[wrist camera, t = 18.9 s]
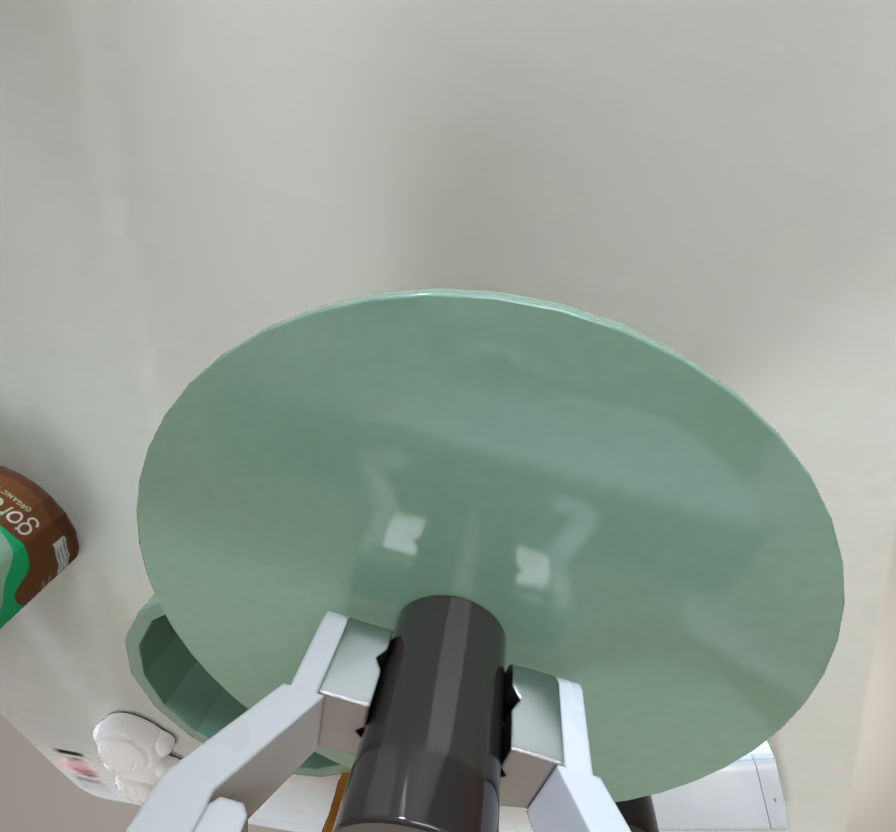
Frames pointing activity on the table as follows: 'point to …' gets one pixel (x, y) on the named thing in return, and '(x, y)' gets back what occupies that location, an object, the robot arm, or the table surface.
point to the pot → (189, 684)
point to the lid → (493, 541)
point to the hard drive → (728, 798)
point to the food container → (29, 542)
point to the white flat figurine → (134, 753)
